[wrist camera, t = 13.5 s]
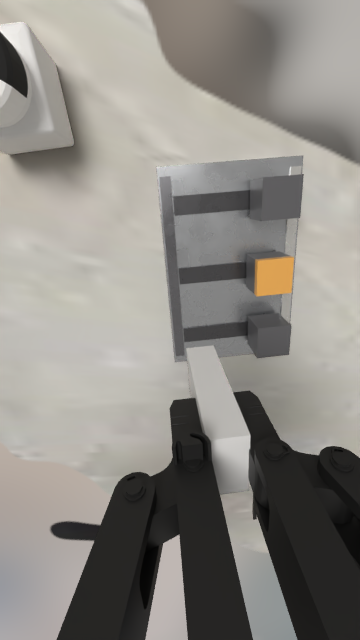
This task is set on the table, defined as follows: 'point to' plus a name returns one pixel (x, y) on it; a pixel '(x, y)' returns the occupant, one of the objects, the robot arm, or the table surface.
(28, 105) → the medicine bottle
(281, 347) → the breaker
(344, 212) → the table surface
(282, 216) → the block
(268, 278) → the block
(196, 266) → the panel
